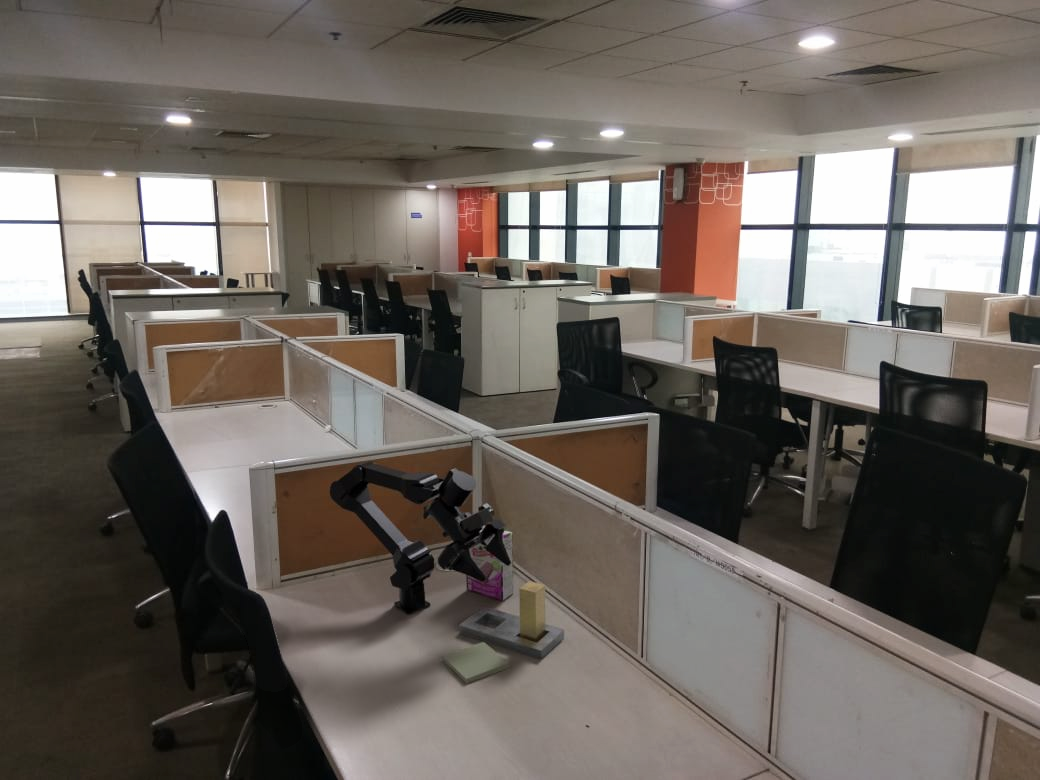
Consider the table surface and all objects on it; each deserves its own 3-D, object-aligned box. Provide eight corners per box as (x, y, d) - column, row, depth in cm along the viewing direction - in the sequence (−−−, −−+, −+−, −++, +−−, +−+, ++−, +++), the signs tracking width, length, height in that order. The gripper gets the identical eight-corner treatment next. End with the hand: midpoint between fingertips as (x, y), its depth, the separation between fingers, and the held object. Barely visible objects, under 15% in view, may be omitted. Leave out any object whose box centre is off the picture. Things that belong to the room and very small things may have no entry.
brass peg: (520, 644, 167) (519, 588, 164) (529, 635, 170) (529, 580, 167) (536, 649, 165) (535, 592, 162) (545, 640, 168) (545, 585, 165)
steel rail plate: (459, 633, 171) (459, 625, 171) (484, 614, 180) (484, 606, 179) (541, 659, 161) (541, 650, 160) (564, 637, 169) (564, 629, 169)
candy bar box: (465, 591, 191) (463, 528, 188) (477, 583, 195) (475, 522, 192) (503, 602, 185) (501, 538, 182) (514, 594, 190) (513, 531, 186)
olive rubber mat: (442, 660, 161) (442, 656, 160) (483, 646, 166) (483, 641, 166) (466, 683, 153) (466, 678, 152) (508, 667, 158) (508, 662, 158)
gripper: (440, 509, 161) (489, 565, 156) (493, 484, 176) (539, 535, 171) (417, 542, 166) (464, 597, 161) (471, 515, 181) (515, 565, 176)
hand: (497, 572), depth 167 cm, fingers open, 9 cm apart
